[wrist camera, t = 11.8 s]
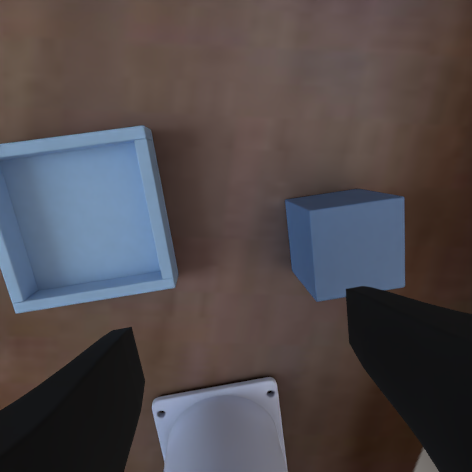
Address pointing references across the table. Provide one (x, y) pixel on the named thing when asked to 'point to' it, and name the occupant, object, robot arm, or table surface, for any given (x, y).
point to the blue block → (347, 241)
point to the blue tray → (83, 219)
